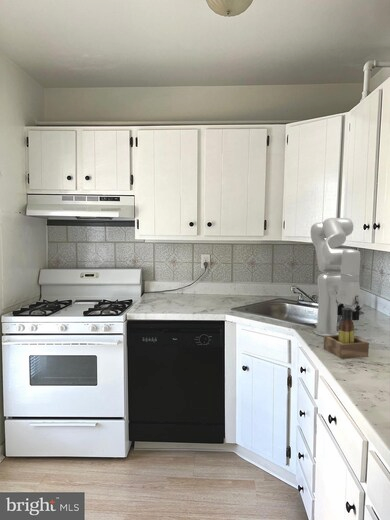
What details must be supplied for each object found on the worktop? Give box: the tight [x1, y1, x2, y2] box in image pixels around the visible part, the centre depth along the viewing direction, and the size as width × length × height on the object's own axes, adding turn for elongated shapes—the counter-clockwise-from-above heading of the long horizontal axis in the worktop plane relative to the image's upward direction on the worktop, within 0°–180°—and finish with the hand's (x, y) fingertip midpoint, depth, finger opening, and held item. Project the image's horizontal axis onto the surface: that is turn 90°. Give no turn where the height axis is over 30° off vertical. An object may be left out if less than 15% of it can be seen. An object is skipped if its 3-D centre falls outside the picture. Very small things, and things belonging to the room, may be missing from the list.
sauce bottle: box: [338, 307, 355, 344], centre depth 162 cm, size 7×6×20 cm
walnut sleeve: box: [323, 335, 370, 360], centre depth 162 cm, size 13×13×6 cm
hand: (347, 317), depth 161 cm, fingers open, 9 cm apart
